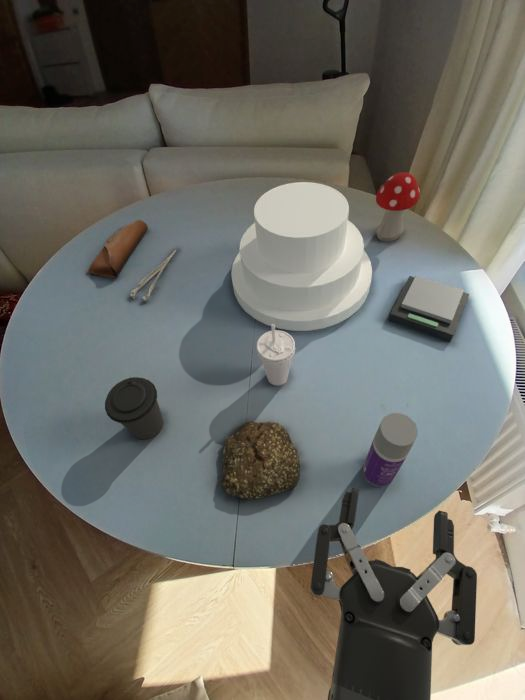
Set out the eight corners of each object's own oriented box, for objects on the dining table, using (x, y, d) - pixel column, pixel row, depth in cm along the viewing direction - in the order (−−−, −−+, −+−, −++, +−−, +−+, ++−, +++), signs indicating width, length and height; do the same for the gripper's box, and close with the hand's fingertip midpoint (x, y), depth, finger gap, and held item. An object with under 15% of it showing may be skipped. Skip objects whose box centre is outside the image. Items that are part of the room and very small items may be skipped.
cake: (324, 222, 99) (328, 151, 85) (399, 297, 82) (420, 224, 68) (213, 262, 92) (198, 192, 78) (269, 352, 75) (263, 284, 61)
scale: (465, 300, 80) (471, 290, 78) (450, 342, 74) (455, 332, 72) (407, 282, 84) (410, 272, 82) (388, 320, 78) (391, 310, 76)
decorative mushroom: (386, 252, 91) (400, 192, 79) (360, 233, 95) (370, 174, 83) (417, 235, 93) (435, 175, 81) (391, 218, 98) (404, 158, 86)
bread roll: (304, 496, 59) (304, 485, 55) (221, 504, 59) (216, 494, 55) (293, 419, 67) (293, 404, 63) (220, 426, 67) (215, 412, 63)
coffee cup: (157, 396, 71) (139, 364, 63) (180, 427, 67) (164, 397, 59) (116, 422, 68) (93, 393, 60) (138, 457, 64) (115, 430, 56)
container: (375, 493, 58) (396, 453, 46) (356, 466, 61) (371, 422, 49) (400, 477, 60) (427, 435, 48) (380, 452, 62) (401, 405, 50)
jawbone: (148, 302, 86) (145, 295, 84) (130, 298, 87) (127, 291, 85) (186, 256, 96) (184, 249, 95) (169, 253, 97) (167, 246, 96)
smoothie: (285, 357, 74) (283, 306, 63) (301, 383, 71) (303, 333, 60) (254, 371, 73) (247, 321, 62) (269, 397, 69) (264, 350, 58)
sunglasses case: (119, 226, 102) (123, 208, 97) (144, 240, 104) (150, 222, 99) (85, 273, 92) (88, 255, 87) (114, 287, 94) (118, 270, 89)
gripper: (495, 751, 27) (486, 510, 36) (290, 673, 30) (330, 470, 39) (458, 732, 33) (458, 530, 42) (290, 669, 36) (325, 493, 45)
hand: (396, 501), depth 40 cm, fingers open, 8 cm apart
